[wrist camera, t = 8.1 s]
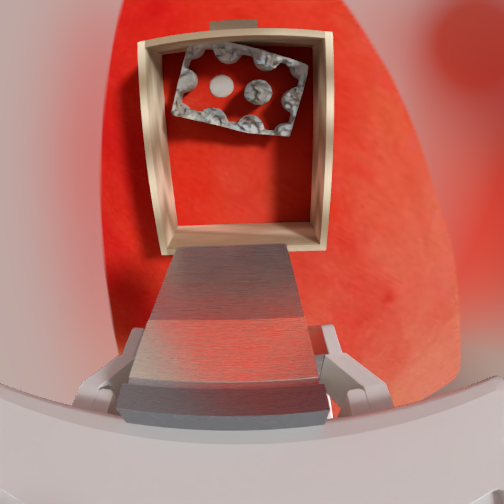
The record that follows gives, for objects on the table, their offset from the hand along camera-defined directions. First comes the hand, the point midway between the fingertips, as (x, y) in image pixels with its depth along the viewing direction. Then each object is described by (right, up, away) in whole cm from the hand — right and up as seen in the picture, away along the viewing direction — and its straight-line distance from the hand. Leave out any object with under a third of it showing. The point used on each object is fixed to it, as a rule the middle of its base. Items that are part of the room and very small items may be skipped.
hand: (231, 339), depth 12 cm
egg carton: (0, +19, +13) cm, 23 cm away
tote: (0, +14, +15) cm, 20 cm away
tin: (0, +2, +3) cm, 4 cm away
